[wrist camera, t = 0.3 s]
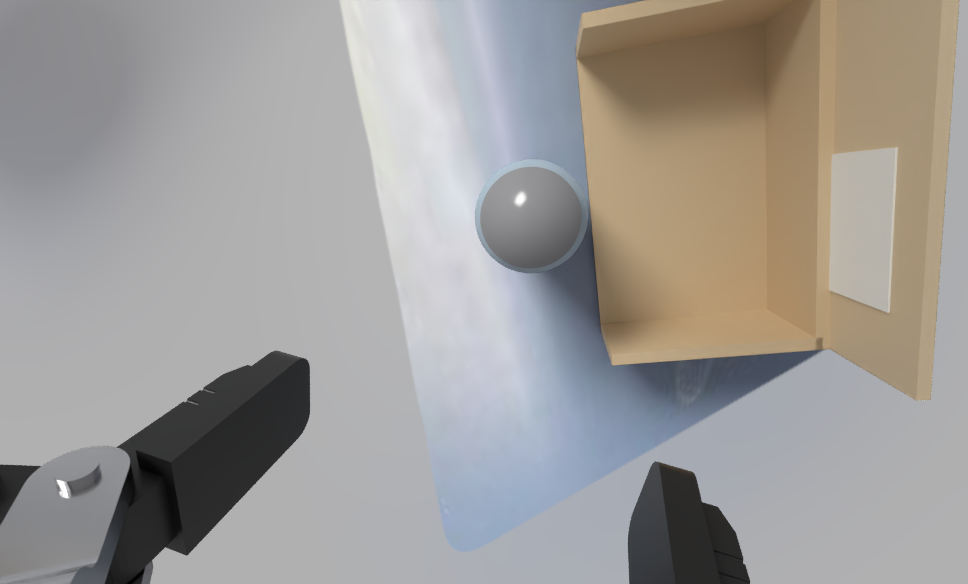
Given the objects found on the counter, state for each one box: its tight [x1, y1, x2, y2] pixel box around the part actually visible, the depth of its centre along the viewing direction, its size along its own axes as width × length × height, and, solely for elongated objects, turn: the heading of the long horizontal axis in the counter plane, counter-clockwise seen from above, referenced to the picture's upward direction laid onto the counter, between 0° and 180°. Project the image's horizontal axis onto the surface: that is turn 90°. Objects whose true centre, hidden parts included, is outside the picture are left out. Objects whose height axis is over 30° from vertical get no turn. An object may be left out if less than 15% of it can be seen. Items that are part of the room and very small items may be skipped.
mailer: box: [576, 0, 959, 400], centre depth 27 cm, size 22×14×14 cm, turn 8°
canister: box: [475, 159, 588, 273], centre depth 30 cm, size 6×6×13 cm
